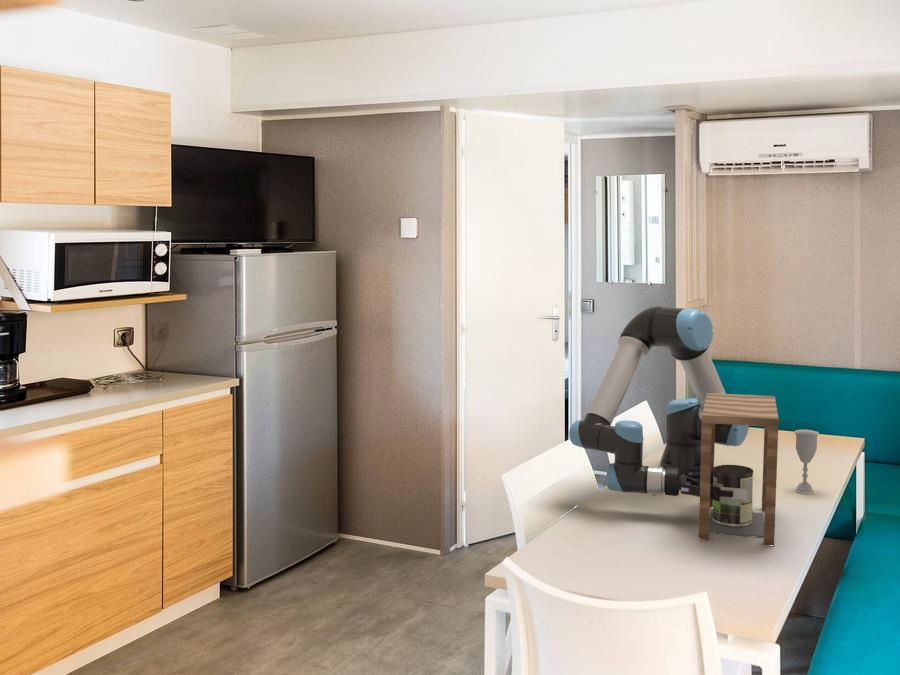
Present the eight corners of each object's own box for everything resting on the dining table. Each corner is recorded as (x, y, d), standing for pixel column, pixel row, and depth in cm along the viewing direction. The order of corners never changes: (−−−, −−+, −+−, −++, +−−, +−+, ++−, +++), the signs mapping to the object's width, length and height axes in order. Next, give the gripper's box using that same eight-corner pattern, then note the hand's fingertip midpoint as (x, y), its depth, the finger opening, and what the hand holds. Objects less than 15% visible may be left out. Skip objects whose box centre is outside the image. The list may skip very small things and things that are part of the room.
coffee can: (721, 527, 237) (721, 475, 235) (706, 516, 247) (706, 465, 245) (759, 525, 238) (759, 473, 236) (743, 514, 248) (743, 463, 246)
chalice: (818, 495, 267) (821, 435, 265) (794, 494, 268) (796, 434, 266) (814, 488, 274) (816, 430, 272) (790, 487, 275) (792, 429, 273)
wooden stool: (704, 503, 260) (707, 393, 256) (770, 508, 254) (774, 396, 251) (698, 539, 230) (701, 414, 226) (774, 546, 224) (778, 419, 220)
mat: (710, 510, 253) (710, 508, 253) (763, 514, 249) (763, 513, 249) (707, 532, 235) (707, 531, 235) (765, 537, 230) (765, 536, 230)
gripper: (667, 482, 259) (746, 488, 252) (660, 507, 235) (746, 515, 229) (668, 456, 258) (747, 462, 251) (660, 479, 234) (747, 486, 228)
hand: (747, 487), depth 240 cm, fingers open, 13 cm apart
